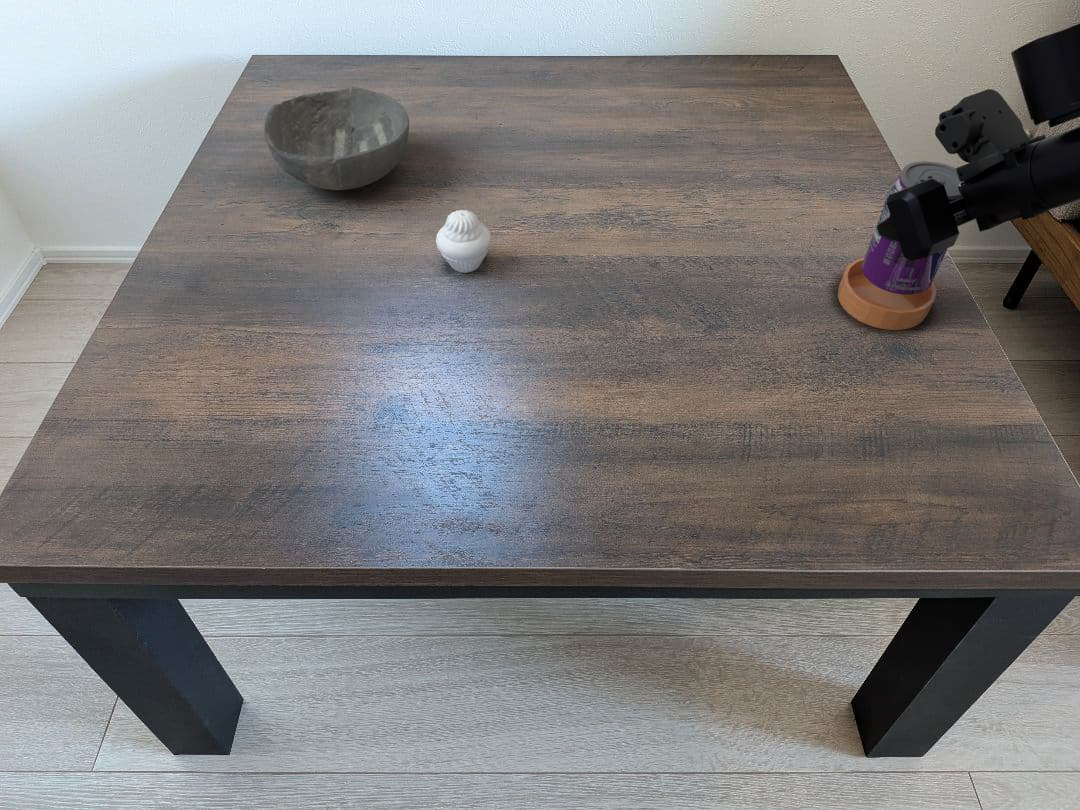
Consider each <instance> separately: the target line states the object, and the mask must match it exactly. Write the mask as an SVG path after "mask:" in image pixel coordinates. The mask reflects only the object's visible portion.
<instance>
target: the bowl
mask: <svg viewBox="0 0 1080 810" xmlns="http://www.w3.org/2000/svg"><path fill="white" fill-rule="evenodd" d="M263 129H264V131H263V137H264V141H265V143H266V144H267V146H268V149H269V150H270V153H271V155H272V158H273V160H275V162H276V163H277V164H278V166H279V167H280V168H281V169H282V170H283V171H284V172H285V173H287V174H288V175H289V176H291V177H293V178H294V179H296V180H297V181H299V182H301V183H303V184H307V185H309V186H312V187H314V188H319V189H324V190H332V191H344V190H345V191H346V190H353V189H354V190H355V189H359V188H363V187H365V186H368V185H370V184H372V183H374V182H377V181H378V180H380V179H382V178H383V177H385V176H386V175H388V174H389V173H390V172H391V171H392V170H393V169H394V168H396V167H397V165H398V164H399V162H400V160H401V159H402V157H403V154H404V152H405V151H406V147H407V144H408V140H409V132H410V118H409V115H408V113H407V111H406V109H405V107H403V105H402V104H401V103H400V102H399V101H397V100H396V99H395V98H392V96H390V95H388V94H385V93H384V92H383V93H382V92H376V91H375V90H371V89H368V88H367V89H366V88H361V87H355V86H351V87H345V88H342V89H341V88H340V89H337V90H328V91H320V92H312V93H305V94H301V95H298V96H296V97H292V98H291V99H288V100H283V101H281V102H280V103H277V104H274V105H273V106H272V107H271V108H270V109H269V111H268V112H267V115H266V117H265V121H264V127H263Z"/></svg>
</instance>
